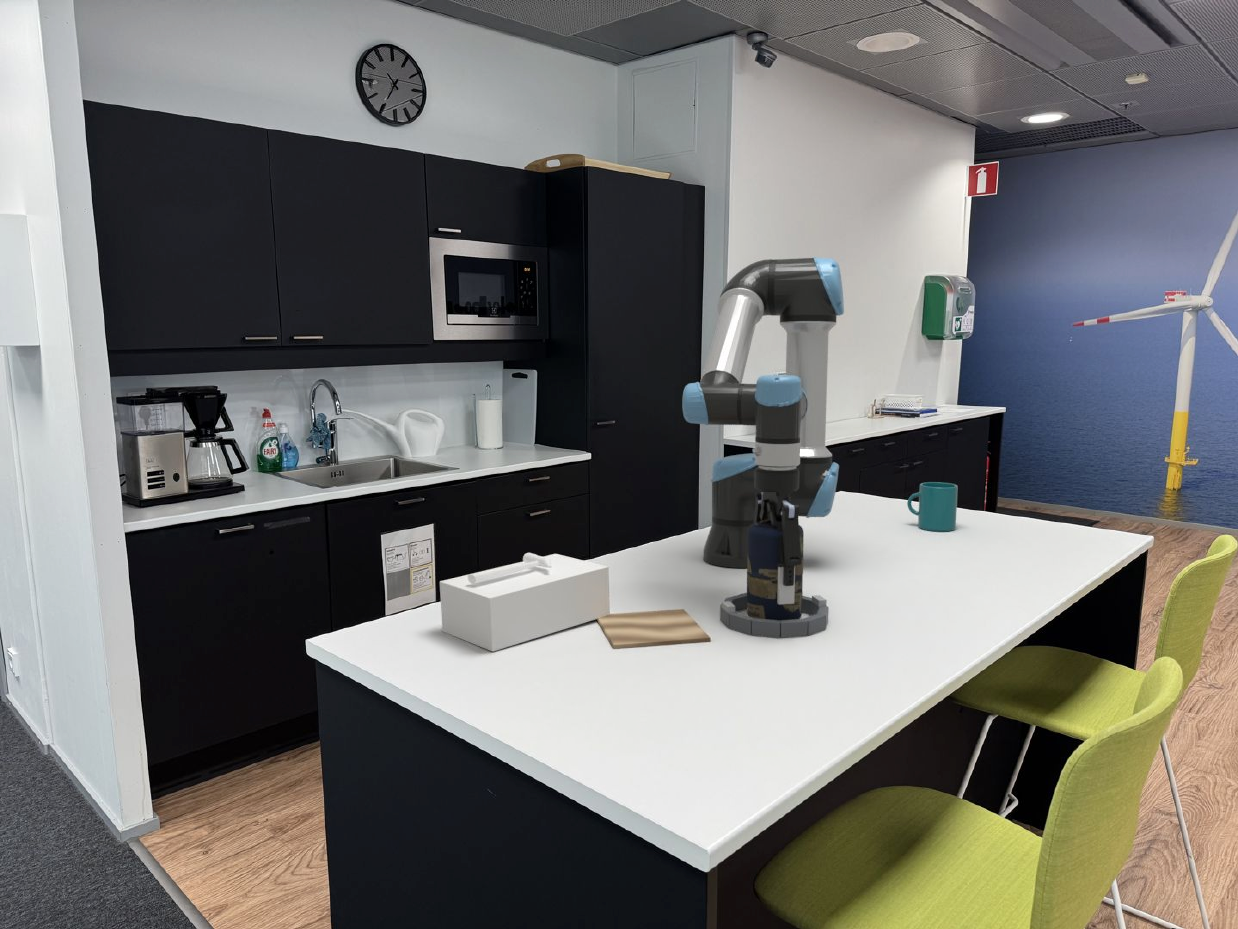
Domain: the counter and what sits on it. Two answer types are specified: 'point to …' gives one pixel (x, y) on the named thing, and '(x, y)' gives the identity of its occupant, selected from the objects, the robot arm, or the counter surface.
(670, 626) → the mat
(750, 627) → the collar
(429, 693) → the counter surface
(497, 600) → the tissue box
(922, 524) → the cup
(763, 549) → the canister
